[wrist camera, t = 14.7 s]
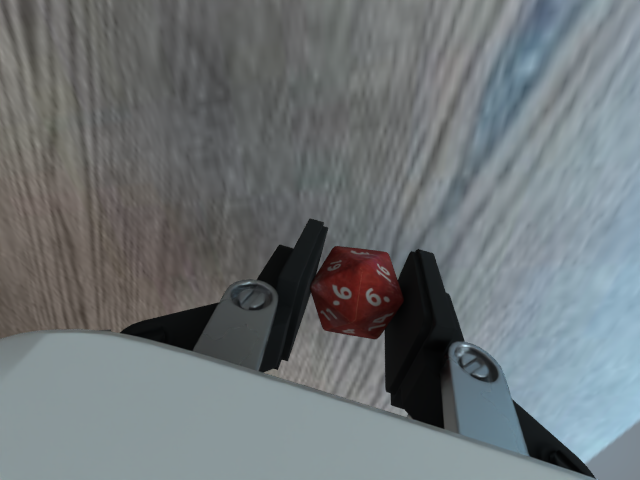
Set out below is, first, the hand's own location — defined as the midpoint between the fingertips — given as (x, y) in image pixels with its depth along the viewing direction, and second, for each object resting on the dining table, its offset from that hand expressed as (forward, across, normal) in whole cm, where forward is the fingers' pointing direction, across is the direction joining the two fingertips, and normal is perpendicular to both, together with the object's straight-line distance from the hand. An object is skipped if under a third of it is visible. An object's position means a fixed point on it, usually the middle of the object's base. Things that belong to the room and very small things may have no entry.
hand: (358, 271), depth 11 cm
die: (0, 0, 0) cm, 0 cm away
